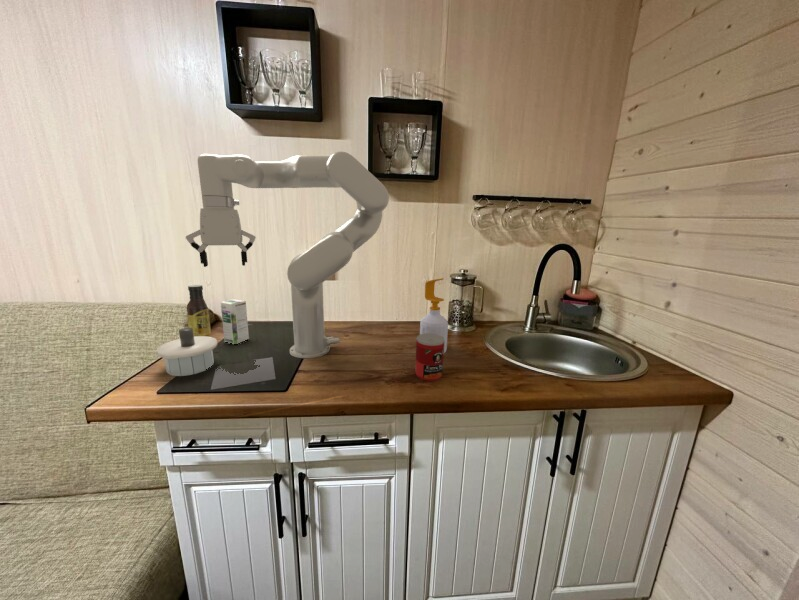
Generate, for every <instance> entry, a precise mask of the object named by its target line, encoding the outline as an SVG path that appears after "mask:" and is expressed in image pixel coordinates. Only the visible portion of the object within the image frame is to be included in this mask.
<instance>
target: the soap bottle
mask: <svg viewBox="0 0 799 600" xmlns="http://www.w3.org/2000/svg"><path fill="white" fill-rule="evenodd" d="M443 280H444V278H436V279H431V280H427V281H425V285H424V299H425V300H427V301H430V303H431V304H432V305H431V306H430V307H429V312H428V313H429V314H426V315H424V316H423V317H422V318H421V319H420V323H419V324H420V326H419V335H420V334H425V333H432V334H437V335H440V336H442V337H443V338H444V354H445V353H446V352H447V347H448V333H449V322H448V319H447V318H446V317H444V316H443V315H441V307H439V305H438V304H440V302H443V301H444V300H445V299H444V298H441V297H438V296H437V297H436V295H435V284H436V282H438V281H443Z"/></svg>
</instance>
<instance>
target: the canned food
mask: <svg viewBox="0 0 799 600" xmlns="http://www.w3.org/2000/svg"><path fill="white" fill-rule="evenodd" d="M444 355H445V353H444V338H443V337H442V336H440V335H437V334H432V333H425V334H420V333H419V334H418V335H417V336H416V342H415V369H414V370H415V371H414V372H415V375H416V377H417V378H418V379H419V380H422V381H425V382H434V381H439V380H440V379H441V378H442V377H443V373H444V372H443V371H444Z"/></svg>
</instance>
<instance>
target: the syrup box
mask: <svg viewBox="0 0 799 600" xmlns="http://www.w3.org/2000/svg"><path fill="white" fill-rule="evenodd" d="M220 309H221V319H222V320H221V321H222V329H223V330H222V331H223V339H224V343H225V342H228V343H227V344H230V343H232V344H231V345H234V344H238V343H240V342H242V341H245V340H247V339H249V340H250V335H249V323H248V313H247V312H248V311H247V301H246V300H240V299H228V300H223V301H220ZM245 342H246V341H245ZM240 344H241V343H240ZM238 345H239V344H238Z"/></svg>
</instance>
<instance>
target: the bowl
mask: <svg viewBox="0 0 799 600" xmlns="http://www.w3.org/2000/svg"><path fill="white" fill-rule="evenodd" d="M163 359H164V364H165V370H166V374H168V375H170V376H173V377H175V376H176V377H184V376H191V375H197V374H199V373H202V372H205V371H207V370H209V369H210V368H212V367H213V366H214V362H215V360H214V353H213V349H212V350H211V351H208V352H206V353H203V354H200V355H196V356H192V357H186V358H177V359H168V358H163ZM212 365H213V366H212ZM211 366H212V367H211ZM209 367H210V368H209ZM208 368H209V369H208ZM206 369H207V370H206Z"/></svg>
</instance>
